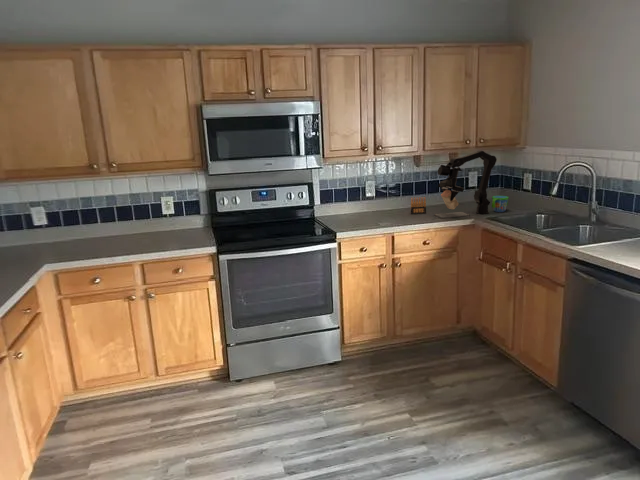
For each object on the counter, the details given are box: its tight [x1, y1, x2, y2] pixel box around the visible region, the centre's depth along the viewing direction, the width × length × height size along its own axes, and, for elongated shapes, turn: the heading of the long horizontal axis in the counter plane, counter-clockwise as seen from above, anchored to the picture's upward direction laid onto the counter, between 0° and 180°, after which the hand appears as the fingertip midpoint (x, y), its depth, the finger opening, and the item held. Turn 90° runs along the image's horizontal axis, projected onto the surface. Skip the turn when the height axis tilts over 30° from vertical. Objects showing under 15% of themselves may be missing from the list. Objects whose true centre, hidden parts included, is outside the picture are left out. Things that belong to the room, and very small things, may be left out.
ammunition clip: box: [410, 196, 427, 215], centre depth 355 cm, size 11×2×12 cm, turn 88°
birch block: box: [440, 189, 460, 210], centre depth 341 cm, size 6×6×12 cm
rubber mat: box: [434, 211, 470, 219], centre depth 345 cm, size 20×11×1 cm, turn 101°
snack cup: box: [491, 195, 509, 213], centre depth 352 cm, size 16×10×10 cm
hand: (448, 200), depth 340 cm, fingers closed on birch block, 5 cm apart
